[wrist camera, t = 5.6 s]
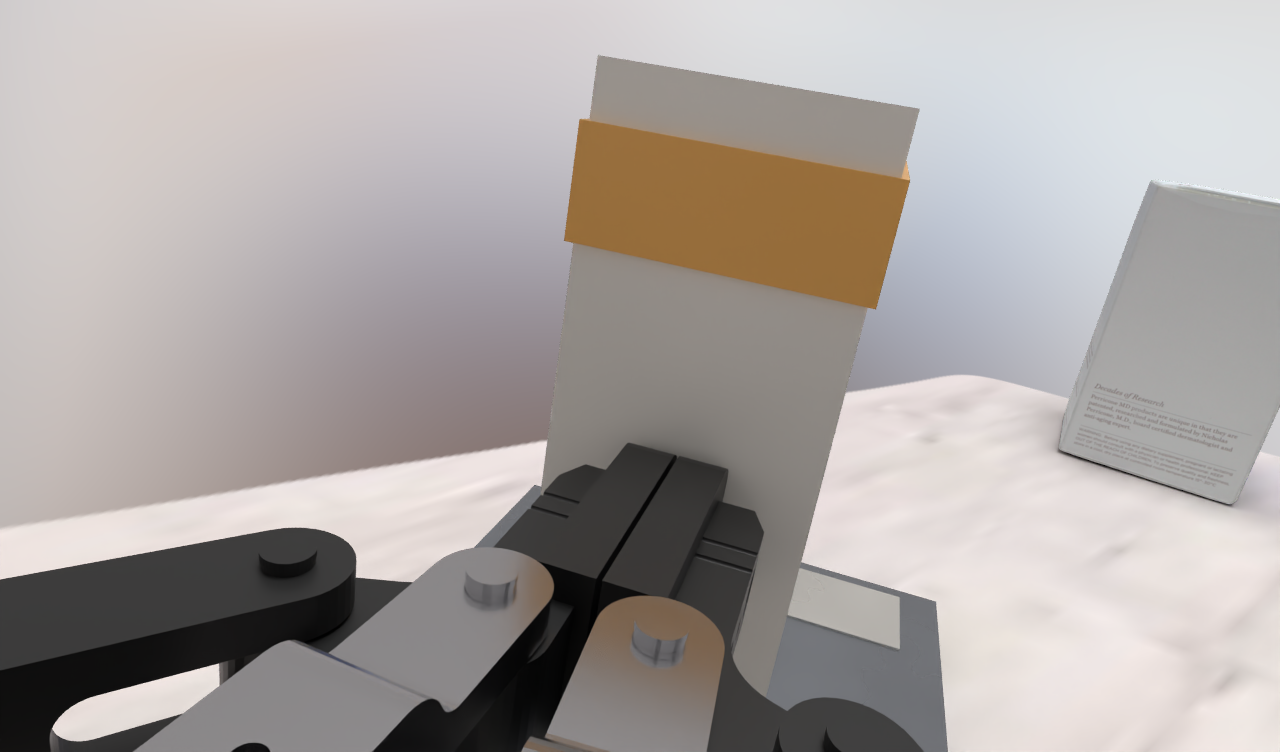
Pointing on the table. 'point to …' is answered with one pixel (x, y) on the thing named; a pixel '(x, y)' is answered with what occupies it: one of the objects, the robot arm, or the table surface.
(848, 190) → the handle
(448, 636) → the robot arm
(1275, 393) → the supplement box
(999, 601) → the table surface
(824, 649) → the grey flat plate
